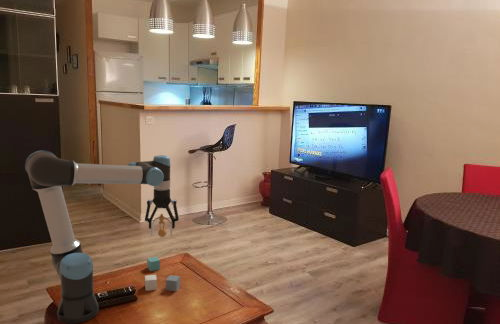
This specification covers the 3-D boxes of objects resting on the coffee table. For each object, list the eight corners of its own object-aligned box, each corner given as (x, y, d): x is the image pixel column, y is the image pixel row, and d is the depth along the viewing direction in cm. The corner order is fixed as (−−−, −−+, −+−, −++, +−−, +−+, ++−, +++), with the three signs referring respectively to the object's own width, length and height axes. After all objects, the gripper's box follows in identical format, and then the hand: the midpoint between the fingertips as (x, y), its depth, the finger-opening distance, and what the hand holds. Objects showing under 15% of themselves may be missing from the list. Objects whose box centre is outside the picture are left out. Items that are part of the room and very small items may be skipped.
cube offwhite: (145, 291, 179) (145, 280, 178) (145, 285, 183) (144, 275, 182) (156, 289, 180) (156, 279, 179) (156, 284, 185) (156, 274, 184)
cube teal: (150, 271, 198) (150, 262, 197) (147, 267, 202) (147, 258, 201) (160, 269, 200) (160, 260, 200) (156, 265, 205) (156, 256, 204)
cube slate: (165, 290, 180) (165, 280, 179) (169, 285, 185) (169, 275, 184) (176, 291, 179) (176, 281, 178) (179, 286, 184) (179, 276, 183)
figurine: (171, 235, 193) (171, 211, 191) (169, 239, 187) (169, 215, 185) (154, 234, 192) (154, 211, 190) (151, 239, 186) (151, 215, 184)
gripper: (137, 190, 180) (138, 237, 184) (184, 190, 183) (183, 237, 187) (140, 186, 188) (140, 232, 192) (185, 186, 190) (184, 231, 194)
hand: (161, 234), depth 189 cm, fingers closed on figurine, 8 cm apart
